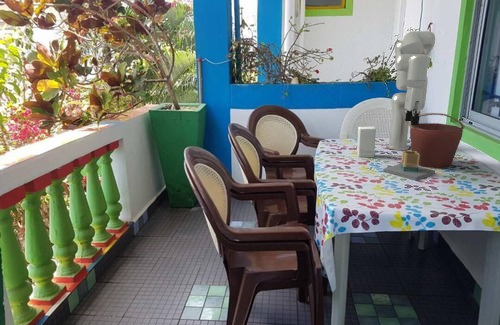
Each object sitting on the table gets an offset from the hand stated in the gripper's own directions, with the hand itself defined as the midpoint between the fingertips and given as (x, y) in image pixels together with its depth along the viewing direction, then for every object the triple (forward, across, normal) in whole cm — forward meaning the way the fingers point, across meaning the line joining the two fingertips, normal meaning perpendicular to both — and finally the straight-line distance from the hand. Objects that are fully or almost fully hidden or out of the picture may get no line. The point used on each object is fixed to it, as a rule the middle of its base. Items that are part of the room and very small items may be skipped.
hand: (411, 123), depth 171 cm
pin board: (+23, +2, +1) cm, 23 cm away
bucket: (+23, -15, +16) cm, 32 cm away
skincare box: (+23, -26, -15) cm, 38 cm away
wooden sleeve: (+21, +2, +1) cm, 21 cm away
